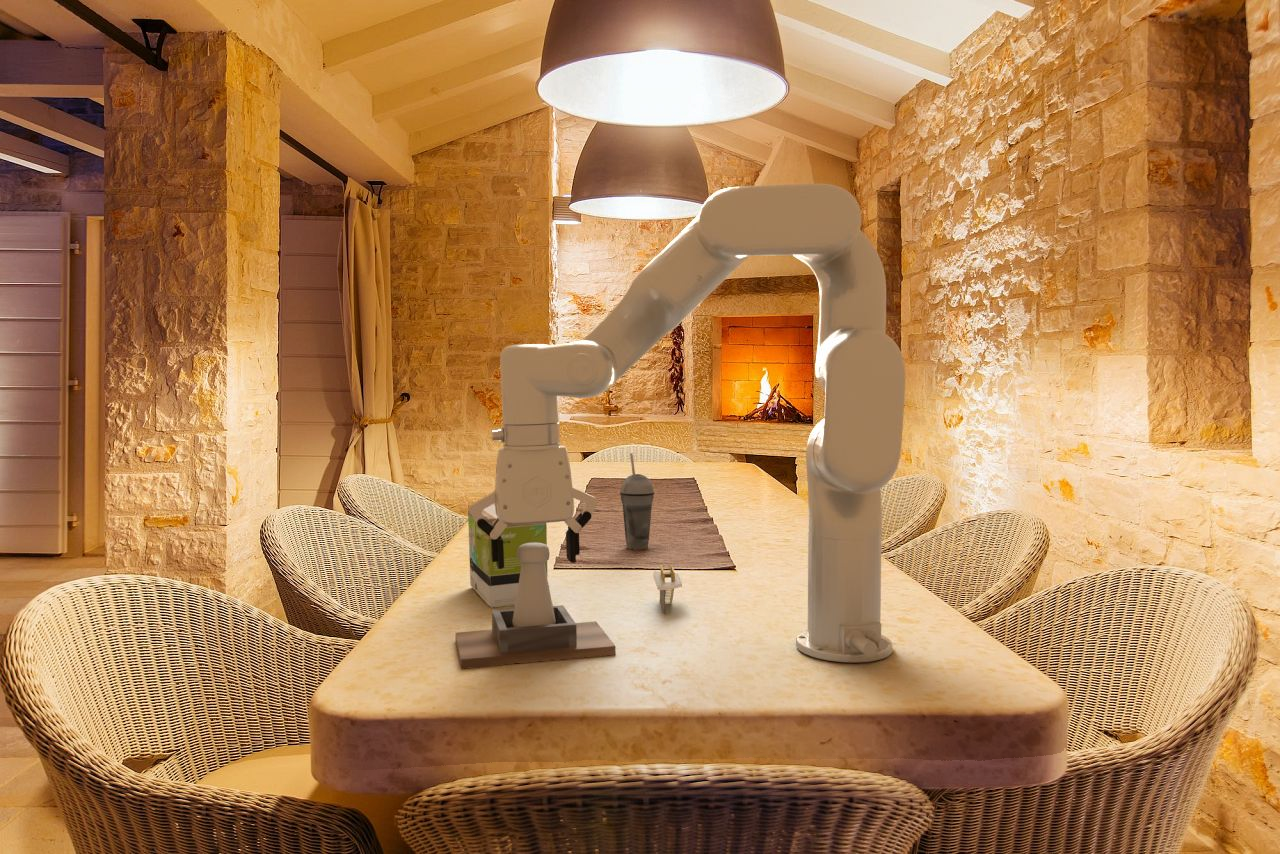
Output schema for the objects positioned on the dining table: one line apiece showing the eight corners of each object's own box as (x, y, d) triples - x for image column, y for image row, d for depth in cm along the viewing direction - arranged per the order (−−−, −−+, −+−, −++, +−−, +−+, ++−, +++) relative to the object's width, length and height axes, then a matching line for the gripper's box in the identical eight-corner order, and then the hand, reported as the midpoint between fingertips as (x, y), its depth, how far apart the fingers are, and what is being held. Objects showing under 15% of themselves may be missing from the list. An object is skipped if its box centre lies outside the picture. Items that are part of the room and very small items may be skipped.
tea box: (468, 588, 156) (466, 503, 155) (524, 582, 159) (523, 499, 158) (488, 609, 142) (487, 516, 141) (549, 602, 146) (548, 511, 145)
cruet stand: (615, 654, 118) (615, 623, 118) (461, 668, 113) (460, 636, 113) (596, 629, 130) (595, 601, 130) (455, 641, 125) (454, 611, 125)
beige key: (698, 595, 151) (698, 556, 151) (713, 625, 133) (713, 582, 133) (627, 596, 151) (627, 557, 150) (633, 627, 133) (632, 583, 132)
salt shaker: (548, 646, 118) (546, 549, 117) (506, 644, 119) (505, 547, 119) (561, 633, 124) (559, 540, 123) (521, 631, 125) (520, 539, 124)
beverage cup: (654, 551, 186) (654, 454, 184) (619, 551, 186) (618, 454, 185) (654, 544, 193) (654, 451, 192) (620, 544, 193) (620, 451, 192)
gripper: (467, 442, 114) (473, 575, 115) (600, 435, 118) (605, 564, 120) (463, 438, 121) (468, 563, 122) (589, 432, 126) (593, 553, 127)
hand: (536, 563), depth 121 cm, fingers open, 9 cm apart
